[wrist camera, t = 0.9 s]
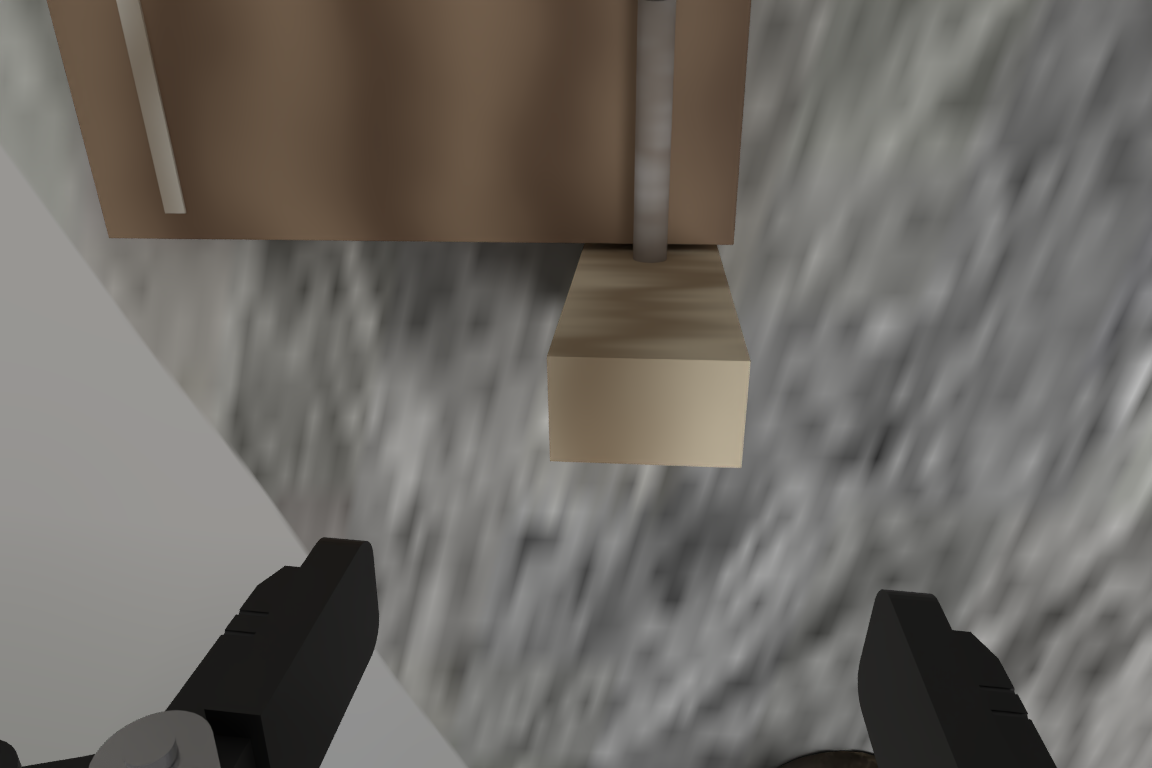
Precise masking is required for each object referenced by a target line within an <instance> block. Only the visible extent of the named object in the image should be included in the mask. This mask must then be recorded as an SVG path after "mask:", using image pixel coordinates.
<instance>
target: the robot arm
mask: <svg viewBox="0 0 1152 768" xmlns="http://www.w3.org/2000/svg"><path fill="white" fill-rule="evenodd" d="M378 628H379V610H378V599H377V589H376V578H375V567H374V556H373V549H372V546H371V544H370V542H368V541H360V540H349V539H338V538H327V537H323V538H321V539H320V540H319V541H318V542H317V543H316V545H315V546H314V548H313V549H312V551H311V552H310V554H309V555H308V557H307V558H306V560H305V561H304V563H303V564H302V565H301V567H292V566H284V567H283V568H281V569H280V570H279V571H277V572H276V573H275V574H273V575H272V576H270V577H269V578H267V579H266V580H264V581H263V582H262V583H260V584H259V585H257V587H256V588H255V590H254V591H253V592H252V594H251V595H250V596H249V598H248V599H247V600H246V602H245V603H244V604H243V606H242V607H241V608H240V612H239V615H235V617H234V618H233V619H232V621H231V622H230V624H229V625H228V626H227V628H226V629H225V633H224V635H221V636H220V637H219V639H218V640H217V641H216V643H215V644H214V645H213V647H212V648H211V649H210V651H209V652H208V653H207V655H206V656H205V657H204V659H203V660H202V662H201V663H200V664H199V666H198V667H197V668H196V670H195V671H194V672H193V674H192V675H191V677H190V678H189V679H188V681H187V682H186V683H185V685H184V686H183V687H182V689H181V690H180V692H179V693H178V694H177V696H176V697H175V698H174V700H173V701H172V702H171V704H170V705H169V707H168V708H167V709H166V710H165V711H164V712H159V713H155V714H151V715H148V716H145V717H143V718H140V719H138V720H136V721H134V722H132V723H130V724H128V725H126V726H125V727H123V728H122V729H120V730H119V731H117V732H116V733H115V734H113V735H112V736H111V737H110V738H109V739H108V740H107V741H106V742H105V743H104V744H103V745H102V746H101V747H100V748H99V750H98V751H97V752H96V754H93V755H89V756H84V757H78V758H71V759H66V760H59V761H53V762H48V763H41V764H35V765H29V766H24V767H22V766H21V763H20V761H19V758H18V755H17V753H16V751H15V749H14V748H13V747H12V746H11V745H10V744H8V743H7V742H5V741H2V740H0V768H319V767H320V765H321V763H322V761H323V759H324V756H325V754H326V752H327V750H328V748H329V746H330V744H331V741H332V740H333V737H334V735H335V733H336V731H337V729H338V726H339V725H340V722H341V720H342V718H343V716H344V714H345V712H346V709H347V707H348V705H349V703H350V701H351V699H352V697H353V694H354V692H355V690H356V688H357V686H358V684H359V682H360V680H361V677H362V675H363V673H364V671H365V669H366V667H367V665H368V663H369V660H370V658H371V656H372V654H373V651H374V648H375V644H376V640H377V635H378ZM858 694H859V702H860V706H861V710H862V714H863V717H864V721H865V724H866V728H867V731H868V734H869V738H870V741H871V745H872V748H873V751H874V755H875V758H876V762H877V765H878V768H1057V767H1056V765H1055V763H1054V761H1053V760H1052V758H1051V756H1050V754H1049V752H1048V750H1047V748H1046V747H1045V745H1044V743H1043V741H1042V739H1041V737H1040V735H1039V733H1038V732H1037V730H1036V728H1035V726H1034V724H1033V722H1032V720H1030V719H1028V717H1027V714H1028V713H1027V711H1026V709H1025V707H1024V705H1023V704H1022V702H1021V700H1020V698H1019V696H1018V694H1015V693H1014V687H1013V685H1012V683H1011V681H1010V679H1009V677H1008V676H1007V674H1006V672H1005V670H1004V668H1003V666H1002V664H1001V662H1000V661H999V659H998V658H997V657H996V656H995V655H994V654H993V653H992V652H991V651H990V650H989V649H988V648H987V647H986V646H985V645H984V644H983V643H981V642H980V641H979V640H978V639H977V638H976V637H975V636H974V635H973V634H972V633H971V632H965V631H955V630H952V629H951V627H950V624H949V622H948V620H947V618H946V616H945V614H944V612H943V610H942V608H941V606H940V604H939V602H938V600H937V598H936V597H935V596H934V595H933V594H927V593H916V592H905V591H894V590H883V589H882V590H880V591H879V592H878V594H877V596H876V598H875V602H874V606H873V610H872V614H871V618H870V622H869V627H868V631H867V635H866V639H865V643H864V647H863V651H862V655H861V659H860V664H859V670H858Z"/></svg>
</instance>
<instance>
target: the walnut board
mask: <svg viewBox="0 0 1152 768" xmlns="http://www.w3.org/2000/svg"><path fill="white" fill-rule="evenodd" d="M47 3H48V7H49V11H50V15H51V18H52V22H53V26H54V30H55V34H56V37H57V41H58V45H59V49H60V53H61V57H62V60H63V64H64V68H65V72H66V76H67V79H68V83H69V87H70V91H71V95H72V98H73V102H74V106H75V110H76V114H77V117H78V121H79V125H80V129H81V133H82V136H83V140H84V144H85V148H86V152H87V155H88V159H89V163H90V167H91V171H92V174H93V178H94V182H95V186H96V190H97V193H98V197H99V201H100V205H101V209H102V212H103V216H104V220H105V224H106V228H107V231H108V235H109V238H157V239H250V240H343V241H436V242H528V243H621V244H633V232H634V177H635V123H636V69H637V15H638V0H47ZM750 9H751V0H676V22H675V49H674V76H673V103H672V131H671V158H670V185H669V212H668V239H667V244H714V245H733V244H734V230H735V216H736V202H737V188H738V175H739V161H740V147H741V133H742V119H743V106H744V92H745V78H746V64H747V50H748V37H749V23H750Z"/></svg>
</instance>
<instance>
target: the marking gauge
mask: <svg viewBox="0 0 1152 768" xmlns="http://www.w3.org/2000/svg"><path fill="white" fill-rule="evenodd" d="M675 22H676V0H638V15H637V69H636V123H635V177H634V232H633V244H621V243H585V244H584V247H583V250H582V253H581V256H580V259H579V262H578V265H577V268H576V271H575V274H574V277H573V280H572V283H571V286H570V289H569V292H568V295H567V298H566V301H565V304H564V307H563V310H562V313H561V316H560V319H559V322H558V325H557V328H556V331H555V334H554V337H553V340H552V343H551V346H550V349H549V352H548V355H547V373H548V406H549V440H550V461H562V462H590V463H618V464H645V465H673V466H701V467H729V468H741V465H742V453H743V442H744V431H745V419H746V408H747V396H748V385H749V373H750V362H751V361H750V358H749V354H748V351H747V347H746V344H745V341H744V337H743V334H742V330H741V327H740V323H739V320H738V317H737V313H736V310H735V306H734V303H733V299H732V296H731V292H730V289H729V286H728V282H727V279H726V275H725V272H724V268H723V265H722V262H721V258H720V255H719V251H718V248H717V245H714V244H667V239H668V212H669V185H670V158H671V131H672V103H673V76H674V49H675Z"/></svg>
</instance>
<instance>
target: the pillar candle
mask: <svg viewBox="0 0 1152 768" xmlns="http://www.w3.org/2000/svg"><path fill="white" fill-rule="evenodd" d="M779 768H878V765H877V762H876V758H875V756H874V755H870V754H867V753H863V752H851V751H835V752H825V753H818V754H815V755H808V756H805V757H801V758H798V759H796V760H793V761H791V762H789V763H786V764H784V765H783V766H781V767H779Z"/></svg>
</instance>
